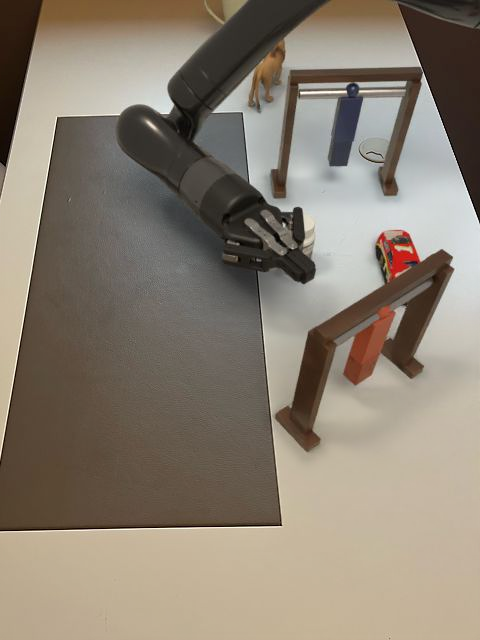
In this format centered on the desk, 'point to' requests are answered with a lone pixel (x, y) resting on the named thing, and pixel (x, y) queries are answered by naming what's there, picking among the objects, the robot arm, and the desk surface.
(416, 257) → the race car
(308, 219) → the pill bottle
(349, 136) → the far pendulum
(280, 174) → the far rack
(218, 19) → the mug
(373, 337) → the two-tone orange prism
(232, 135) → the desk surface
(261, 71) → the lion figurine
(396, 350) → the near rack
